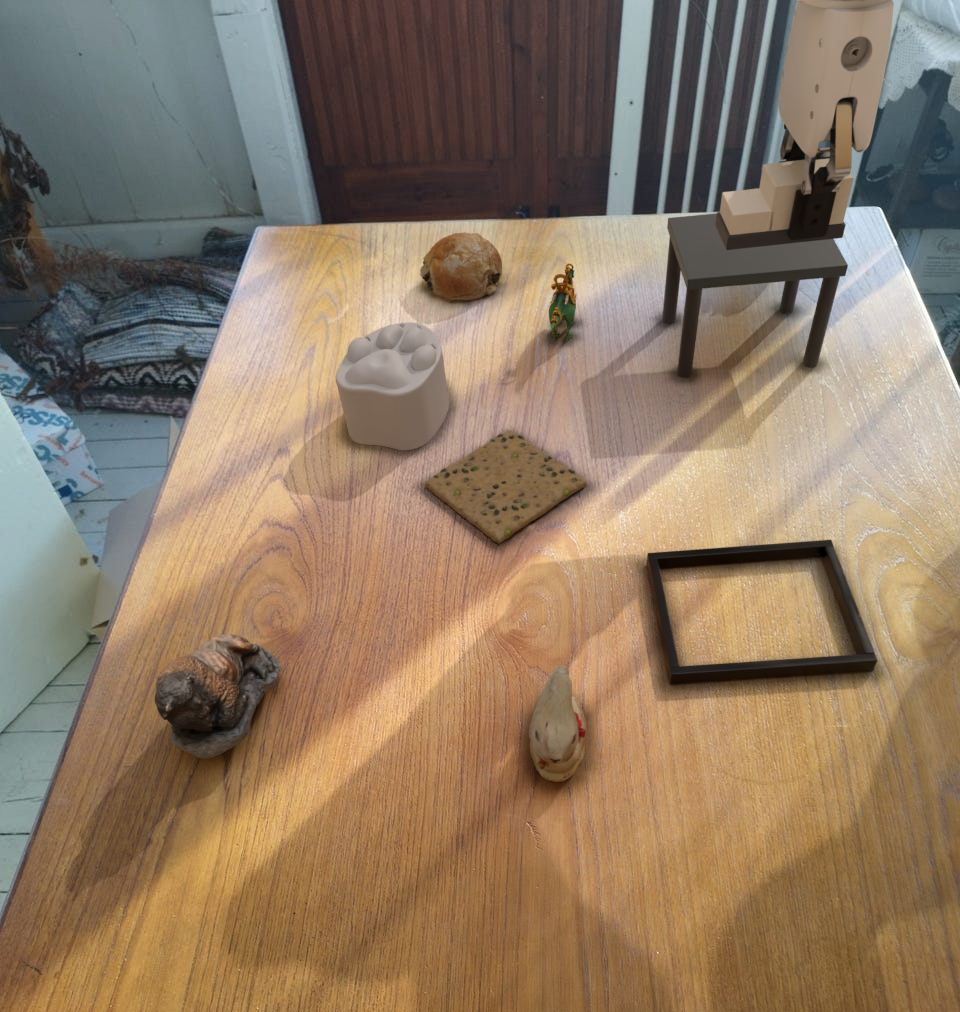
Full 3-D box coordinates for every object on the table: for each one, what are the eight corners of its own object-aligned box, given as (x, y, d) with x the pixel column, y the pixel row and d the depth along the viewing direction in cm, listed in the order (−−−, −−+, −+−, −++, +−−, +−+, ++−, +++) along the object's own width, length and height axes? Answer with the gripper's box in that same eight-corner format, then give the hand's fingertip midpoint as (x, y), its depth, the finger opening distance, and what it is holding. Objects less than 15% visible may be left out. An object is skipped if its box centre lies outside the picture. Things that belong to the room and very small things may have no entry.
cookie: (422, 486, 90) (421, 479, 89) (510, 432, 94) (510, 425, 93) (498, 545, 84) (497, 538, 83) (588, 485, 88) (588, 477, 87)
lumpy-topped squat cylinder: (337, 440, 96) (320, 373, 89) (381, 371, 103) (368, 304, 96) (425, 454, 93) (414, 385, 86) (464, 382, 101) (456, 313, 94)
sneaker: (827, 213, 78) (840, 154, 74) (842, 238, 75) (857, 178, 71) (715, 225, 78) (722, 167, 74) (726, 250, 75) (734, 191, 71)
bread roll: (473, 332, 113) (494, 283, 106) (404, 291, 112) (420, 239, 106) (500, 291, 118) (521, 243, 112) (434, 252, 118) (452, 201, 111)
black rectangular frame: (827, 550, 80) (831, 539, 79) (873, 671, 71) (878, 660, 70) (646, 563, 81) (647, 552, 80) (669, 684, 72) (671, 674, 71)
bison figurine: (224, 654, 78) (186, 579, 70) (297, 663, 77) (267, 587, 69) (169, 769, 71) (120, 700, 63) (249, 781, 70) (209, 712, 62)
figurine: (583, 309, 108) (584, 245, 101) (565, 366, 101) (565, 301, 94) (559, 307, 108) (558, 244, 102) (539, 364, 101) (537, 299, 95)
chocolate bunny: (502, 766, 69) (494, 694, 61) (553, 695, 73) (551, 619, 65) (563, 798, 67) (562, 728, 59) (612, 724, 70) (617, 649, 63)
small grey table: (792, 304, 105) (814, 204, 95) (821, 367, 97) (848, 265, 87) (659, 315, 106) (668, 217, 96) (676, 379, 98) (688, 279, 88)
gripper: (947, -1, 56) (872, 267, 71) (864, -72, 67) (813, 174, 81) (831, 13, 57) (779, 277, 71) (766, -60, 67) (733, 182, 81)
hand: (798, 219), depth 76 cm, fingers closed on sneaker, 4 cm apart
